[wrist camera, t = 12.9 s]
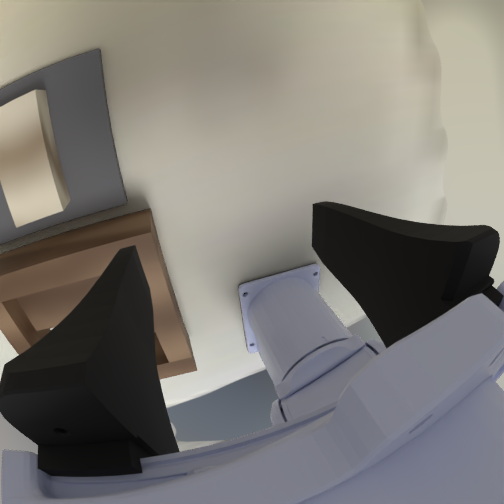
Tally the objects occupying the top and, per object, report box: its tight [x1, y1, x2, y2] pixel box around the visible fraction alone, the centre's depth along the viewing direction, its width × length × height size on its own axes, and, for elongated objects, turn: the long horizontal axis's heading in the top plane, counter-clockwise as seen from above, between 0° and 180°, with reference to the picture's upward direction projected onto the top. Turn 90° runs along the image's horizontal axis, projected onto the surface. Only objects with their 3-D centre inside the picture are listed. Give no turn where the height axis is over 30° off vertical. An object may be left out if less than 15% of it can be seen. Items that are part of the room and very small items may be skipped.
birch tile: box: [0, 90, 70, 228], centre depth 13 cm, size 8×4×2 cm, turn 5°
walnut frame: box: [0, 209, 197, 379], centre depth 20 cm, size 14×15×4 cm
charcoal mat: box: [0, 49, 127, 245], centre depth 14 cm, size 11×12×1 cm
